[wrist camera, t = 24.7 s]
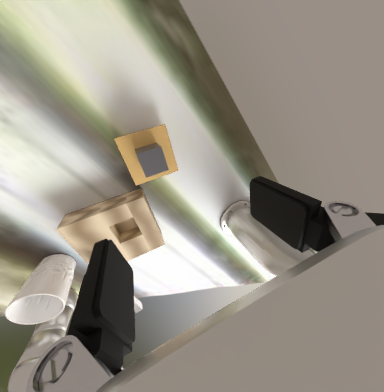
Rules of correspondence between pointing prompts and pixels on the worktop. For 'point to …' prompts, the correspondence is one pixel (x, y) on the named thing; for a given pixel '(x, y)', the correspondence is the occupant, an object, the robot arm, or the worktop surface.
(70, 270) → the white cup
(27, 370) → the plastic bottle
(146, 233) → the socket block
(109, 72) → the worktop surface
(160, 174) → the plug
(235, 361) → the robot arm
